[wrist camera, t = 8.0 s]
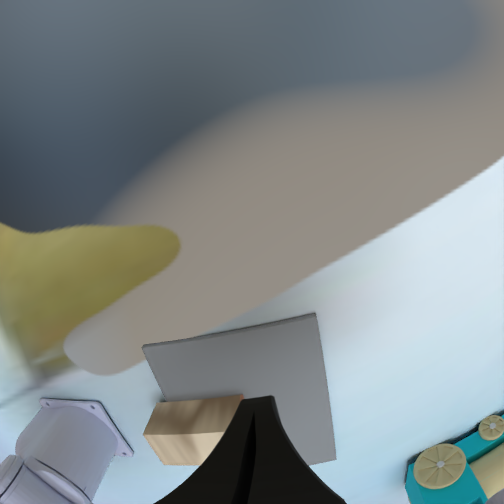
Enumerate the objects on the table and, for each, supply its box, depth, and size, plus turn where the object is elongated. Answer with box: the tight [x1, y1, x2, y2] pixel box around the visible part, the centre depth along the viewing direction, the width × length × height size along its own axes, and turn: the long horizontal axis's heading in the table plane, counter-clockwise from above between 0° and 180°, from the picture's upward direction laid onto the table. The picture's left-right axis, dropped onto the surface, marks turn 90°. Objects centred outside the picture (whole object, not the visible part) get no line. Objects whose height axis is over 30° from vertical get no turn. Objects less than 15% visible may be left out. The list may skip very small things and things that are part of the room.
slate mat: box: [142, 314, 336, 466], centre depth 22 cm, size 13×17×1 cm
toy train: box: [405, 415, 504, 504], centre depth 17 cm, size 8×17×15 cm, turn 106°
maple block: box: [143, 394, 244, 465], centre depth 20 cm, size 4×4×8 cm
